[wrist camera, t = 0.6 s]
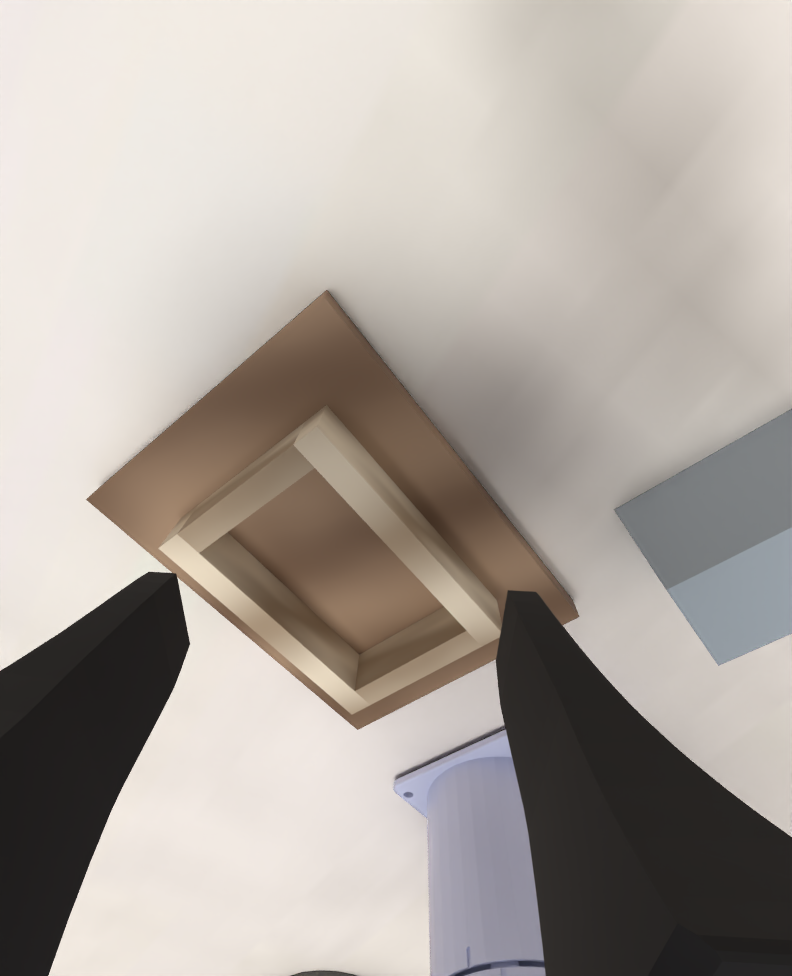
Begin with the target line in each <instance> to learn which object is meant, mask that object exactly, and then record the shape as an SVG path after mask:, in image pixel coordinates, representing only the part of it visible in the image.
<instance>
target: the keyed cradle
mask: <svg viewBox="0 0 792 976" xmlns="http://www.w3.org/2000/svg"><path fill="white" fill-rule="evenodd" d="M86 500H87V501H88V502H90V503H91V504H92V505H93V506H94V507H96V508H97V509H98V510H99V511H100V512H101V513H103V514H104V515H105V516H106V517H107V518H108V519H110V520H111V521H112V522H113V523H114V524H116V525H117V526H118V527H119V528H120V529H121V530H123V531H124V532H125V533H126V534H127V535H129V536H130V537H131V538H132V539H133V540H134V541H136V542H137V543H138V544H139V545H140V546H141V547H143V548H144V549H145V550H146V551H147V552H149V553H150V554H151V555H152V556H153V557H154V558H156V559H157V560H158V561H159V562H160V563H162V564H163V565H164V566H165V567H166V568H167V569H169V570H170V571H171V572H172V573H176V574H177V577H178V578H179V579H180V580H182V581H183V582H184V583H185V584H186V585H187V586H189V587H190V588H191V589H192V590H193V591H195V592H196V593H197V594H198V595H199V596H200V597H202V598H203V599H204V600H205V601H206V602H207V603H209V604H210V605H211V606H212V607H213V608H215V609H216V610H217V611H218V612H219V613H220V614H222V615H223V616H224V617H225V618H226V619H228V620H229V621H230V622H231V623H232V624H233V625H235V626H236V627H237V628H238V629H239V630H240V631H242V632H243V633H244V634H245V635H246V636H248V637H249V638H250V639H251V640H252V641H253V642H255V643H256V644H257V645H258V646H259V647H261V648H262V649H263V650H264V651H265V652H266V653H268V654H269V655H270V656H271V657H272V658H273V659H275V660H276V661H277V662H278V663H279V664H281V665H282V666H283V667H284V668H285V669H286V670H288V671H289V672H290V673H291V674H292V675H293V676H295V677H296V678H297V679H298V680H299V681H301V682H302V683H303V684H304V685H305V686H306V687H308V688H309V689H310V690H311V691H312V692H314V693H315V694H316V695H317V696H318V697H319V698H321V699H322V700H323V701H324V702H325V703H326V704H328V705H329V706H330V707H331V708H332V709H334V710H335V711H336V712H337V713H338V714H339V715H341V716H342V717H343V718H344V719H345V720H347V721H348V722H349V723H350V724H351V725H352V726H354V727H355V728H356V729H357V730H358V729H360V728H362V727H364V726H366V725H368V724H370V723H372V722H374V721H376V720H378V719H380V718H382V717H384V716H386V715H388V714H390V713H392V712H393V711H395V710H397V709H399V708H401V707H403V706H405V705H407V704H409V703H411V702H413V701H415V700H417V699H419V698H421V697H423V696H425V695H427V694H429V693H431V692H433V691H435V690H437V689H439V688H440V687H442V686H444V685H446V684H448V683H450V682H452V681H454V680H456V679H458V678H460V677H462V676H464V675H466V674H468V673H470V672H472V671H474V670H476V669H478V668H480V667H482V666H484V665H486V664H487V663H489V662H491V661H493V660H495V659H496V656H497V650H498V645H499V639H500V633H501V627H502V621H503V615H504V609H505V604H506V598H507V592H508V590H513V591H532V592H537V593H538V594H539V596H540V597H541V598H542V599H543V601H544V602H545V603H546V605H547V606H548V607H549V609H550V610H551V611H552V613H553V614H554V615H555V617H556V618H557V619H558V620H559V622H560V623H561V624H562V625H564V624H566V623H568V622H570V621H572V620H574V619H576V618H578V617H579V615H578V612H577V610H576V607H575V605H574V602H573V600H572V599H571V598H570V596H569V595H568V594H567V593H566V591H565V590H564V589H563V588H562V586H561V585H560V584H559V582H558V581H557V580H556V579H555V577H554V576H553V575H552V574H551V572H550V571H549V570H548V569H547V567H546V566H545V565H544V564H543V562H542V561H541V560H540V559H539V557H538V556H537V555H536V553H535V552H534V551H533V550H532V548H531V547H530V546H529V545H528V543H527V542H526V541H525V540H524V538H523V537H522V536H521V535H520V533H519V532H518V531H517V529H516V528H515V527H514V526H513V524H512V523H511V522H510V521H509V519H508V518H507V517H506V516H505V514H504V513H503V512H502V511H501V509H500V508H499V507H498V505H497V504H496V503H495V502H494V500H493V499H492V498H491V497H490V495H489V494H488V493H487V492H486V490H485V489H484V488H483V487H482V485H481V484H480V483H479V481H478V480H477V479H476V478H475V476H474V475H473V474H472V473H471V471H470V470H469V469H468V468H467V466H466V465H465V464H464V463H463V461H462V460H461V459H460V458H459V456H458V455H457V454H456V452H455V451H454V450H453V449H452V447H451V446H450V445H449V444H448V442H447V441H446V440H445V439H444V437H443V436H442V435H441V434H440V432H439V431H438V430H437V428H436V427H435V426H434V425H433V423H432V422H431V421H430V420H429V418H428V417H427V416H426V415H425V413H424V412H423V411H422V410H421V408H420V407H419V406H418V404H417V403H416V402H415V401H414V399H413V398H412V397H411V396H410V394H409V393H408V392H407V391H406V389H405V388H404V387H403V386H402V384H401V383H400V382H399V380H398V379H397V378H396V377H395V375H394V374H393V373H392V372H391V370H390V369H389V368H388V367H387V365H386V364H385V363H384V362H383V360H382V359H381V358H380V356H379V355H378V354H377V353H376V351H375V350H374V349H373V348H372V346H371V345H370V344H369V343H368V341H367V340H366V339H365V338H364V336H363V335H362V334H361V333H360V331H359V330H358V329H357V327H356V326H355V325H354V324H353V322H352V321H351V320H350V319H349V317H348V316H347V315H346V314H345V312H344V311H343V310H342V309H341V307H340V306H339V305H338V303H337V302H336V301H335V300H334V298H333V297H332V296H331V295H330V293H329V292H328V291H327V290H326V291H325V292H324V293H323V294H322V295H321V296H319V297H318V298H317V299H316V300H315V301H314V302H313V303H311V304H310V305H309V306H308V307H307V308H306V309H304V310H303V311H302V312H301V313H300V314H299V315H298V316H296V317H295V318H294V319H293V320H292V321H291V322H290V323H288V324H287V325H286V326H285V327H284V328H283V329H281V330H280V331H279V332H278V333H277V334H276V335H275V336H273V337H272V338H271V339H270V340H269V341H268V342H266V343H265V344H264V345H263V346H262V347H261V348H260V349H258V350H257V351H256V352H255V353H254V354H253V355H252V356H250V357H249V358H248V359H247V360H246V361H245V362H243V363H242V364H241V365H240V366H239V367H238V368H237V369H235V370H234V371H233V372H232V373H231V374H230V375H228V376H227V377H226V378H225V379H224V380H223V381H222V382H220V383H219V384H218V385H217V386H216V387H215V388H214V389H212V390H211V391H210V392H209V393H208V394H207V395H205V396H204V397H203V398H202V399H201V400H200V401H199V402H197V403H196V404H195V405H194V406H193V407H192V408H190V409H189V410H188V411H187V412H186V413H185V414H184V415H182V416H181V417H180V418H179V419H178V420H177V421H176V422H174V423H173V424H172V425H171V426H170V427H169V428H167V429H166V430H165V431H164V432H163V433H162V434H161V435H159V436H158V437H157V438H156V439H155V440H154V441H153V442H151V443H150V444H149V445H148V446H147V447H146V448H144V449H143V450H142V451H141V452H140V453H139V454H138V455H136V456H135V457H134V458H133V459H132V460H131V461H129V462H128V463H127V464H126V465H125V466H124V467H123V468H121V469H120V470H119V471H118V472H117V473H116V474H115V475H113V476H112V477H111V478H110V479H109V480H108V481H106V482H105V483H104V484H103V485H102V486H101V487H100V488H98V489H97V490H96V491H95V492H94V493H93V494H92V495H91V496H89V497H88V498H87V499H86Z"/></svg>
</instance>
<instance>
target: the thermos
mask: <svg viewBox="0 0 792 976" xmlns="http://www.w3.org/2000/svg"><path fill="white" fill-rule="evenodd" d="M293 976H355V975H350V974H345V973H340V972H329V971H314V972H304V973H300V974H296V975H293Z"/></svg>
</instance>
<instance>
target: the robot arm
mask: <svg viewBox="0 0 792 976" xmlns="http://www.w3.org/2000/svg"><path fill="white" fill-rule="evenodd" d="M189 645H190V642H189V637H188V631H187V626H186V621H185V616H184V611H183V605H182V600H181V595H180V590H179V585H178V579H177V574H176V573H160V572H148V573H146V574H145V575H143V576H141V577H140V578H138V579H137V580H135V581H134V582H132V583H131V584H130V585H128V586H127V587H125V588H124V589H122V590H121V591H120V592H118V593H117V594H115V595H114V596H112V597H111V598H110V599H108V600H107V601H105V602H104V603H103V604H101V605H100V606H98V607H97V608H95V609H94V610H93V611H91V612H90V613H88V614H87V615H85V616H84V617H82V618H81V619H80V620H78V621H77V622H75V623H74V624H72V625H71V626H70V627H68V628H67V629H65V630H64V631H62V632H61V633H59V634H58V635H56V636H55V637H53V638H51V639H50V640H48V641H47V642H45V643H44V644H42V645H41V646H39V647H37V648H36V649H34V650H33V651H31V652H30V653H28V654H27V655H25V656H23V657H22V658H20V659H19V660H17V661H16V662H14V663H13V664H11V665H9V666H8V667H6V668H4V669H3V670H1V671H0V976H48V975H49V972H50V969H51V966H52V964H53V961H54V958H55V955H56V952H57V950H58V947H59V944H60V941H61V938H62V935H63V933H64V930H65V927H66V924H67V921H68V919H69V916H70V913H71V911H72V908H73V906H74V903H75V900H76V898H77V895H78V893H79V890H80V887H81V885H82V882H83V879H84V877H85V874H86V872H87V869H88V866H89V864H90V861H91V859H92V856H93V854H94V852H95V849H96V847H97V844H98V842H99V839H100V837H101V834H102V832H103V830H104V827H105V825H106V822H107V820H108V817H109V815H110V812H111V810H112V808H113V806H114V804H115V802H116V800H117V797H118V795H119V793H120V791H121V789H122V787H123V785H124V783H125V781H126V779H127V777H128V775H129V774H130V772H131V770H132V768H133V766H134V764H135V762H136V760H137V758H138V756H139V754H140V752H141V751H142V749H143V747H144V745H145V743H146V741H147V739H148V737H149V735H150V733H151V731H152V730H153V728H154V726H155V724H156V722H157V720H158V718H159V716H160V714H161V712H162V710H163V708H164V706H165V704H166V702H167V700H168V699H169V697H170V695H171V693H172V690H173V688H174V686H175V684H176V681H177V678H178V676H179V673H180V671H181V668H182V665H183V662H184V659H185V657H186V654H187V651H188V648H189ZM496 667H497V677H498V687H499V696H500V705H501V710H502V714H503V719H504V723H505V728H506V729H505V730H503V731H501V732H498V733H496V734H494V735H492V736H490V737H488V738H485V739H483V740H481V741H479V742H477V743H475V744H472V745H470V746H468V747H466V748H464V749H461V750H459V751H457V752H455V753H453V754H451V755H448V756H446V757H444V758H442V759H440V760H437V761H435V762H433V763H431V764H429V765H427V766H424V767H422V768H420V769H418V770H416V771H414V772H411V773H409V774H407V775H405V776H403V777H400V778H398V779H397V780H395V781H394V791H395V793H397V794H398V795H399V796H400V797H401V798H403V799H404V800H405V801H406V802H408V803H409V804H410V805H411V806H413V807H414V808H415V809H416V810H417V811H419V812H420V813H421V814H422V815H424V816H425V817H426V818H427V829H428V881H429V933H430V976H792V837H791V836H789V835H788V834H786V833H785V832H784V831H782V830H781V829H779V828H778V827H777V826H775V825H774V824H772V823H771V822H770V821H768V820H767V819H765V818H764V817H763V816H761V815H760V814H759V813H757V812H756V811H754V810H753V809H752V808H750V807H749V806H748V805H746V804H745V803H744V802H742V801H741V800H740V799H739V798H737V797H736V796H735V795H733V794H732V793H731V792H729V791H728V790H727V789H725V788H724V787H723V786H722V785H721V784H719V783H718V782H717V781H716V780H714V779H713V778H712V777H711V776H709V775H708V774H707V773H706V772H705V771H703V770H702V769H701V768H700V767H698V766H697V765H696V764H695V763H694V762H692V761H691V760H690V759H689V758H688V757H686V756H685V755H684V754H683V753H682V752H681V751H680V750H678V749H677V748H676V747H675V746H674V745H673V744H672V743H670V742H669V741H668V740H667V739H666V738H665V737H664V736H663V735H662V734H661V733H660V732H659V731H658V730H656V729H655V728H654V727H653V726H652V725H651V724H650V723H649V722H648V721H647V720H646V719H645V718H644V717H643V716H641V715H640V714H639V713H638V712H637V711H636V710H635V709H634V708H633V707H632V706H631V705H630V704H629V702H628V701H627V700H626V699H625V698H624V697H623V696H622V695H621V694H620V693H619V692H618V691H617V690H616V689H615V687H614V686H613V685H612V684H611V683H610V682H609V681H608V680H607V679H606V678H605V676H604V675H603V674H602V673H601V672H600V671H599V670H598V668H597V667H596V666H595V665H594V664H593V663H592V661H591V660H590V659H589V658H588V657H587V655H586V654H585V653H584V652H583V651H582V650H581V648H580V647H579V646H578V645H577V643H576V642H575V641H574V640H573V638H572V637H571V636H570V635H569V633H568V632H567V631H566V630H565V628H564V627H563V626H562V624H561V623H560V622H559V620H558V619H557V618H556V617H555V615H554V614H553V613H552V611H551V610H550V609H549V607H548V606H547V605H546V603H545V602H544V601H543V599H542V598H541V597H540V596H539V594H538V593H537V592H532V591H513V590H508V592H507V598H506V604H505V609H504V615H503V621H502V627H501V633H500V639H499V645H498V650H497V656H496Z"/></svg>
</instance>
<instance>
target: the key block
mask: <svg viewBox="0 0 792 976" xmlns="http://www.w3.org/2000/svg"><path fill="white" fill-rule="evenodd" d="M615 512H616V513H617V515H618V517H619V518H620V520H621V521H622V523H623V524H624V526H625V527H626V529H627V530H628V532H629V533H630V535H631V536H632V538H633V539H634V541H635V543H636V544H637V546H638V547H639V549H640V550H641V552H642V553H643V555H644V556H645V558H646V559H647V561H648V562H649V564H650V565H651V567H652V569H653V570H654V572H655V573H656V575H657V576H658V578H659V579H660V581H661V582H662V584H663V585H664V587H665V588H666V590H667V591H668V593H669V594H670V596H671V597H672V599H673V600H674V602H675V603H676V605H677V606H678V607H679V609H680V610H681V612H682V613H683V615H684V616H685V618H686V619H687V621H688V622H689V623H690V625H691V626H692V628H693V629H694V631H695V632H696V634H697V635H698V637H699V638H700V640H701V641H702V642H703V644H704V645H705V647H706V648H707V650H708V651H709V653H710V654H711V656H712V657H713V658H714V660H715V661H716V663H717V664H718V666H719V665H721V664H723V663H726V662H728V661H730V660H733V659H735V658H737V657H739V656H742V655H744V654H746V653H748V652H751V651H753V650H755V649H758V648H760V647H762V646H764V645H767V644H769V643H771V642H773V641H776V640H778V639H780V638H783V637H785V636H787V635H789V634H792V409H791V410H789V411H787V412H786V413H784V414H782V415H780V416H778V417H777V418H775V419H773V420H771V421H770V422H768V423H766V424H764V425H763V426H761V427H759V428H757V429H756V430H754V431H752V432H750V433H749V434H747V435H745V436H743V437H742V438H740V439H738V440H736V441H734V442H733V443H731V444H729V445H727V446H726V447H724V448H722V449H720V450H719V451H717V452H715V453H713V454H712V455H710V456H708V457H706V458H705V459H703V460H701V461H699V462H697V463H696V464H694V465H692V466H690V467H689V468H687V469H685V470H683V471H682V472H680V473H678V474H676V475H675V476H673V477H671V478H669V479H668V480H666V481H664V482H662V483H660V484H659V485H657V486H655V487H653V488H652V489H650V490H648V491H646V492H645V493H643V494H641V495H639V496H638V497H636V498H634V499H632V500H631V501H629V502H627V503H625V504H623V505H622V506H620V507H618V508H616V509H615Z"/></svg>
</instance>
